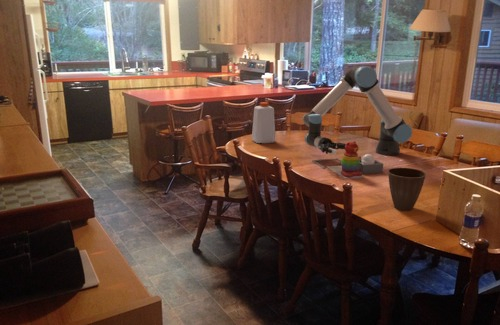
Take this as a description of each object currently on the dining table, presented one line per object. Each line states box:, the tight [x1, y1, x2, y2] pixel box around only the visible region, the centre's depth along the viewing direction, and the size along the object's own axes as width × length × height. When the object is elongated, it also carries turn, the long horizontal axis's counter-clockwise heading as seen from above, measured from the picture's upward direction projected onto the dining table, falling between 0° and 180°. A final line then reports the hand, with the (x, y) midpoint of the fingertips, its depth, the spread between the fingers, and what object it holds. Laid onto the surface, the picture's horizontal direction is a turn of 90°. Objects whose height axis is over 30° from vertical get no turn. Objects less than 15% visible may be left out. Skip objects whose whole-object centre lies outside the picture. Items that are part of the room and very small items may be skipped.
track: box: [311, 158, 365, 179], centre depth 242 cm, size 17×37×1 cm, turn 15°
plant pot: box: [387, 167, 427, 212], centre depth 182 cm, size 15×15×16 cm
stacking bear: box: [340, 141, 363, 179], centre depth 227 cm, size 11×10×18 cm
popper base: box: [358, 158, 384, 175], centre depth 238 cm, size 12×12×5 cm
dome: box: [361, 153, 376, 164], centre depth 237 cm, size 7×7×8 cm
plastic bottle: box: [251, 101, 276, 144], centre depth 304 cm, size 15×15×28 cm
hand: (346, 151), depth 230 cm, fingers open, 13 cm apart
